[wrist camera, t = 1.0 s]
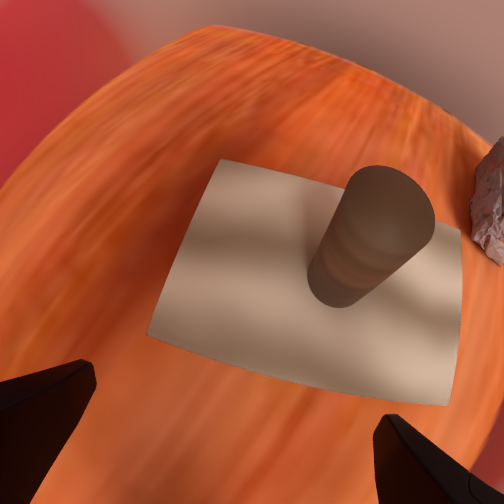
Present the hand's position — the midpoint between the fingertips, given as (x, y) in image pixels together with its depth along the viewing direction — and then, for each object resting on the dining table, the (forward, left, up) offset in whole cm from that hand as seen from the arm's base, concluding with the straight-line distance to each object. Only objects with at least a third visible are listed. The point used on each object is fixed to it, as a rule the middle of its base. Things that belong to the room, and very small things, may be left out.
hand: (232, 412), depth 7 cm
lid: (+4, -7, -8) cm, 12 cm away
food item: (+3, -32, -13) cm, 35 cm away
